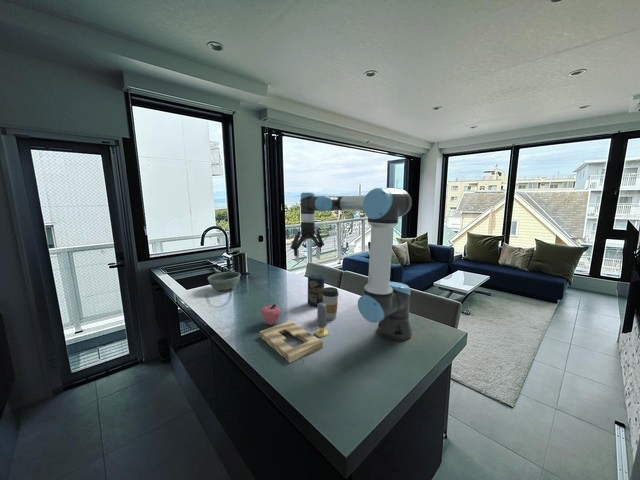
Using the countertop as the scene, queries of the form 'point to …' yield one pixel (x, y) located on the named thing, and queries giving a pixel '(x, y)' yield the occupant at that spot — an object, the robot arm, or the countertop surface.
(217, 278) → the bowl
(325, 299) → the coffee cup
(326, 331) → the peg
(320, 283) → the canister
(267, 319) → the apple
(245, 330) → the countertop surface
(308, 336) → the keyhole board
